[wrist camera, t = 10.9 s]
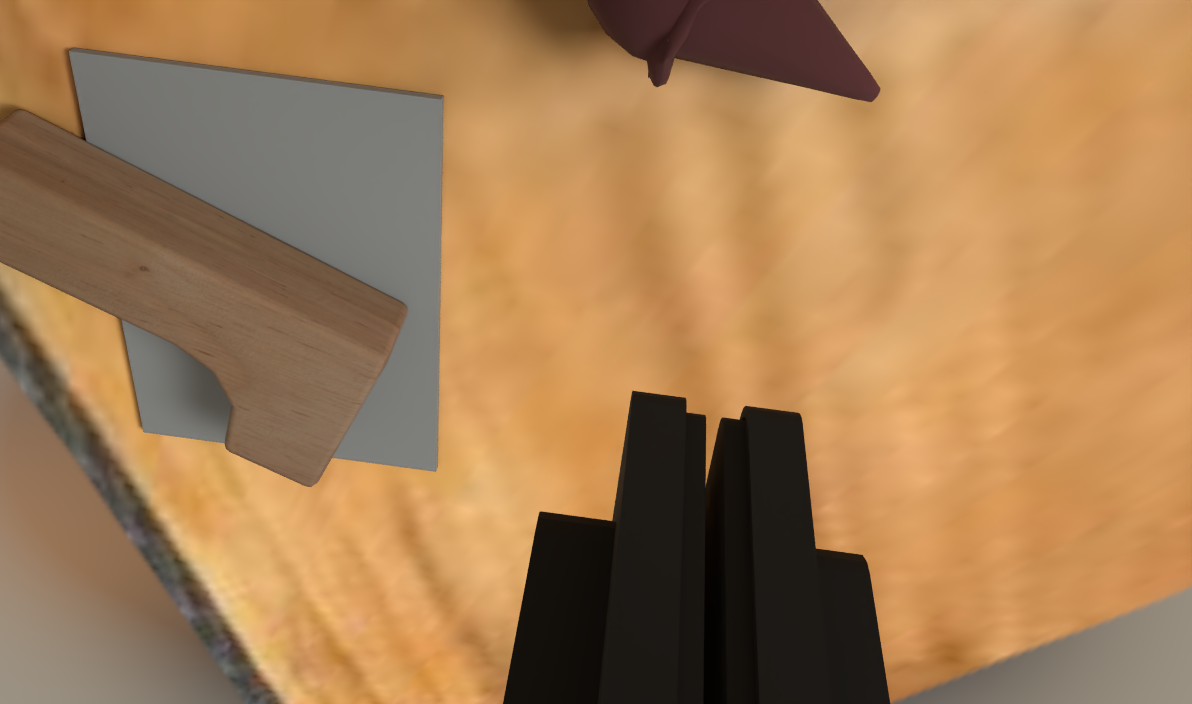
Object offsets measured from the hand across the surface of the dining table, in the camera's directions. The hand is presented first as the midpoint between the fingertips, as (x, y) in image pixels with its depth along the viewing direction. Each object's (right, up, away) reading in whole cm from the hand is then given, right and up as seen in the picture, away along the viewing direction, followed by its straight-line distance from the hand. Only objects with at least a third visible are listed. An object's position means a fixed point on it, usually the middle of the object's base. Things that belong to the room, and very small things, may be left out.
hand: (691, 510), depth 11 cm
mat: (-15, +5, +38) cm, 41 cm away
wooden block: (-11, -1, +38) cm, 40 cm away
